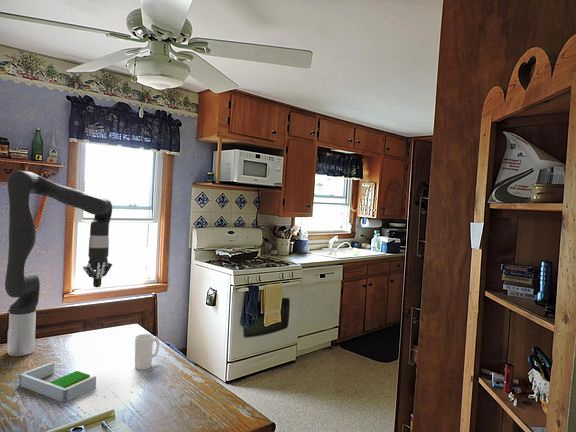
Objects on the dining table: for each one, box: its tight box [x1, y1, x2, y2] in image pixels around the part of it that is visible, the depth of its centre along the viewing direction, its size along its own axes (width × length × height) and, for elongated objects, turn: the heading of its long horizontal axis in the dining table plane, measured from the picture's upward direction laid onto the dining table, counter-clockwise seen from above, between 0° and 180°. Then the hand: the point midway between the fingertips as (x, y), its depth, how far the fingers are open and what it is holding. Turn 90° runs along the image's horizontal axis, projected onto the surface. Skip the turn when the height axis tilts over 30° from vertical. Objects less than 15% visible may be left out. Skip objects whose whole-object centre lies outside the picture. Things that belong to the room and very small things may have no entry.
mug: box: [134, 333, 160, 371], centre depth 160 cm, size 10×7×12 cm, turn 137°
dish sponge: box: [48, 370, 91, 388], centre depth 140 cm, size 7×14×2 cm, turn 157°
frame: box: [18, 361, 97, 403], centre depth 139 cm, size 23×12×4 cm, turn 66°
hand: (97, 286), depth 166 cm, fingers closed
